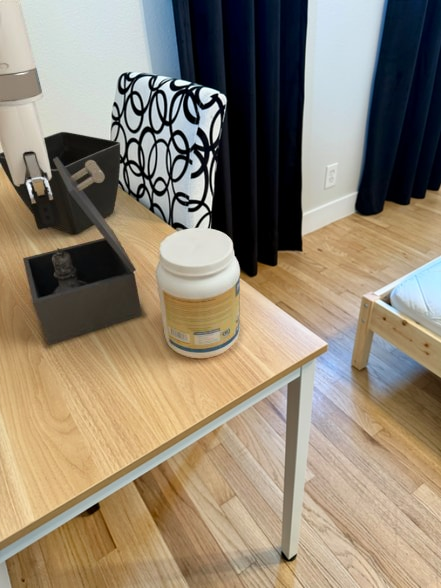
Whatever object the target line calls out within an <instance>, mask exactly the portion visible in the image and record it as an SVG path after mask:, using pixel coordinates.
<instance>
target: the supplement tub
mask: <svg viewBox="0 0 441 588" xmlns="http://www.w3.org/2000/svg"><path fill="white" fill-rule="evenodd" d="M158 252H159V253H158V254H159V255H158V259H159V261H158V262H157V265H156V268H155V280H156V285H157V292H158V299H159V300H158V301H159V307H160V313H161V320H162V326H163V334H164V338H165V340H166V343H167V344H168V346H169V347H170V348H171V349H172V350H173V351H175V352H176V353H177V354H179V355H181V356H184V357H188V358H193V359H209V358H213V357H216V356H219V355H221V354H223V353H225V352H227V351H228V350H229V349H231V348H232V347H233V346H234V344H235V343H236V341H237V340H238V337H239V335H240V331H241V324H240V323H241V267H240V264H239V263H240V262H239V261H238V259H237V256H235V250H234V243H233V240H232V239H231V237H230V236H228V235H227V234H226V233H225V232H222V231H220V230H217V229H213V228H208V227H192V228H191V227H190V228H185V229H181V230H178V231H175V232H173V233H171V234H169V235H167V236H166V237H165V238H163V240H162V241H161V242H160V244H159V248H158Z"/></svg>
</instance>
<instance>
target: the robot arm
mask: <svg viewBox="0 0 441 588" xmlns="http://www.w3.org/2000/svg"><path fill="white" fill-rule="evenodd" d="M23 12H24V11H23V8H22V5H21V1H20V0H0V145H1V148H2V152H4V155H5V158H6V161H7V164H8V167H9V170H10V173H11V176H12V179H13V182H14V184H15V185H16V186H20V184H24V185H25V189H26V192H27V195H28V198H29V201H30V205H31V209H32V212H33V214H32V215H33V218H34V221H35V224H36V228H37V229H38V230H46V229H50V228H54V227H55V226H59V225H61V220H60V216H59V212H58V208H57V205H56V201H55V198H54V197H53V196H52V193H51V189H50V186H49V183H48V181H49V180H50V179H51V178H52V175H51V169H50V164H49V159H48V154H47V149H46V145H45V140H44V138H45V137H44V133H43V129H42V124H41V120H40V116H39V113H38V109H37V105H36V102H37V101H40V100H42V98H44V94H43V89H42V85H41V82H40V81H41V80H40V77H39V74H38V69H37V64H36V61H35V57H34V54H33V49H32V44H31V40H30V37H29V33H28V29H27V25H26V21H25V17H24V13H23ZM26 175H27V176H26ZM32 212H31V213H32Z"/></svg>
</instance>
